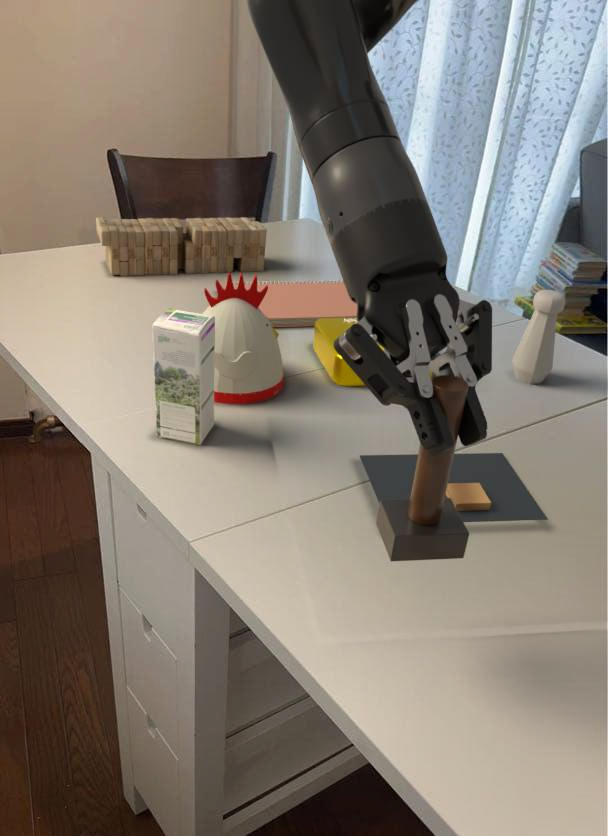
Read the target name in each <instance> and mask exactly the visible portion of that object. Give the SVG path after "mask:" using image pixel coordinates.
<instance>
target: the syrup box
mask: <svg viewBox="0 0 608 836" xmlns="http://www.w3.org/2000/svg"><path fill="white" fill-rule="evenodd" d="M151 327H152V328H151V334H152V335H151V336H152V356H153V377H154V378H153V380H154V381H153V382H154V406H155V407H154V408H155V431H156V433H155V434H156V438H158V439H162V440H168V441H173V442H174V441H175V442H179V443H185V444H190V445H195V446H201V445H202V444H203V442H204V440H205V438H206V437H207V436H208V434H209V433H210V431H212V428H213V427H214V426H215V402H214V363H215V317H214V316H211V315H205V314H203V313H199V312H192V311H187V310H180V309H173V308H168V309H167V310H166V311H164V312H163V313H162V314H161V315H159V317H158V318H157V319H156V320H155V321H154V323H153V324H152V325H151Z"/></svg>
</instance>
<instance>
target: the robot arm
mask: <svg viewBox="0 0 608 836" xmlns="http://www.w3.org/2000/svg"><path fill="white" fill-rule="evenodd" d="M419 1H420V0H246V6H247V11H248V14H249V17H250V20H251V23H252V25H253V28H254V29H255V32H256V34H257V36H258V39H259V42H260V45H261V47H262V49H263V51H264V54H265V55H266V58H267V61H268V63H269V65H270V68H271V70H272V73H273V75H274V77H275V80H276V82H277V84H278V87H279V89H280V92H281V93H282V96H283V98H284V101H285V103H286V105H287V108H288V112H289V116H290V119H291V123H292V127H293V130H294V135H295V139H296V142H297V146H298V148H299V151H300V155H301V157H302V160H303V163H304V166H305V168H306V172H307V174H308V177H309V179H310V183H311V185H312V188H313V191H314V195H315V200H316V205H317V209H318V214H319V216H320V219H321V222H322V226H323V229H324V231H325V234H326V237H327V240H328V241H329V242H328V243H329V244H330V247H331V250H332V253H333V256H334V258H335V262H336V264H337V267H338V270H339V272H340V275H341V278H342V281H344V284H345V287H346V289H347V292H348V295H349V297H350V299H351V300H352V301H353V302H354V303H356V304H357V321H358V322H357V323H356V324H353V325H352V326H351V327H350V328H348V329H347V330H346V331H345V332H344V333H343V334H342V335H340V336H339V337H338V338H337V339H336V340H335V341H334V348H335V350H336V351H337V353H338V354H339V355H340V356H341V357H342V358H343V360H344V361H345V362H346V363H347V364H348V365H349V367H350V368H351V369H352V370H353V371H354V372H355V374H356V375H357V376H358V377H359V378H360V379H361V381H362V382H363V383H364V384H365V385H366V386H365V387H366V388H367V389H368V390H369V392H370V393H371V394H372V395H373V396H374V397H375V398H376V399H377V401H378V402H379V403H380V404H381V405H383V406H385V407H387V406H390V405H392V404H393V405H399V406H402V407H403V408H405V409H407V411H408V413H409V416H410V418H411V421H412V424H413V427H414V430H415V431H416V435H417V438H418V440H419V445H420V444H421V445H422V446H423V448H424V449H425V450H426V449H427V450H428V453H429V454H430V455H431V456H435V455H438V454H442V453H444V452H446V451H448V450H450V449H452V448H453V446H454V441H453V438H452V435H451V433H450V430H449V427H448V424H447V422H446V419H445V416H444V413H443V411H442V408H441V405H440V402H439V400H438V397H437V398H433V399H432V395H433V393H434V389H433V385H432V380H431V377H430V373H429V371H430V372H433V374H435V375H436V376H440V375H450V376H455V377H459V378H461V379H463V380H465V381H466V382H467V383H468V386H469V387H468V392H467V396H466V401H465V406H464V410H463V415H462V420H461V424H460V429H459V434H458V438H459V440H460V443H461V445H462V446H464V447H468V446H472V445H475V444H476V443H479V442H481V441H483V440H485V439H486V438H487V436H488V431H487V430H488V421H487V418H486V415H485V413H484V410H483V407H482V404H481V401H480V399H479V396H478V393H477V391H476V385H477V383H478V382H480V381H481V380H482V378H484V377H486V376H487V375H489V374H490V373H491V372H492V371H493V365H492V364H493V306H492V304H491V303H490V302H489V301H488V300H486V299H482V300H480V301H479V302H477V303H476V304H474V303H471V302H468V301H465V300H463V299H460V296H459V293H458V292H457V290H456V289H455V287H453V285H452V284H451V283H450V281H449V279H448V277H447V265H448V253H447V251H446V249H445V246H444V243H443V240H442V237H441V234H440V232H439V228H438V226H437V224H436V221H435V218H434V216H433V213H432V211H431V207H430V205H429V202H428V199H427V197H426V194H425V191H424V189H423V186H422V183H421V180H420V178H419V175H418V172H417V170H416V168H415V166H414V164H413V161H412V160H411V159H410V157H409V155H408V153H407V151H406V149H405V147H404V145H403V142H402V139H401V136H400V133H399V131H398V129H397V125H396V122H395V120H394V118H393V115H392V112H391V110H390V105H389V104H388V101H387V99H386V97H385V95H384V93H383V90H382V88H381V87H380V84H379V82H378V80H377V77H376V75H375V73H374V70H373V67H372V65H371V62H370V58H369V53H370V52H371V51H372V50H373V49H374V48H375V47H376V46H377V44H379V43H380V42H381V41H382V40H383V39H384V38H385V37H386V36H387V35H388V33H390V32H391V31H392V30H393V29H394V28H395V27H396V26H397V24H399V22H400V21H401V20H402V18H404V16H405V15H406V14H407V13H408V12H409V10H410V9H412V8H413V7H414V5H415V4H417V3H418V2H419ZM376 342H377V343H378V344H379V345H380V346H382V347H383V348H384V351H383V350H382V349H381V348H380V346H379V345H378V344H377V343H376ZM444 349H446V350H445V352H443V353H440V352H442V351H443V350H444ZM436 376H435V377H436Z"/></svg>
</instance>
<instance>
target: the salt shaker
mask: <svg viewBox="0 0 608 836" xmlns="http://www.w3.org/2000/svg"><path fill="white" fill-rule="evenodd" d="M532 306H533V309H534V312H533V314H532V316H531V317H530V320H529V322H528V324H527V327H526V329H525V331H524V333H523V335H522V337H521V339H520V342H519V344H518V345H517V348H516V350H515V353H514V354H513V357H512V359H511V360H512V361H511V364H512V368H513V369H512V370H513V375H514V376H515V378H516V379H517V381H520V382H523V383H526V384H529V385H533V384H542V382H544V380H545V379H546V377H547V376H549V374H550V373H551V372H552V370H553V367H554V354H555V343H556V342H555V341H556V328H557V322H558V321H557V319H558V314H561V313H562V312H563V310H564V309H565V306H566V297H565V295H564V293H562V292H559V291H556V290H553V289H541V290H539V291H538V292H536V293H535V294H534V297H533V300H532Z"/></svg>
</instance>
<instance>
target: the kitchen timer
mask: <svg viewBox="0 0 608 836" xmlns="http://www.w3.org/2000/svg"><path fill="white" fill-rule="evenodd" d="M238 278H239V279H238V282H239V284H238V288H237V289H234V287H233V282H234V281H233V278H232V274H231V272H227V280H226V283H225V284H226V288H225V289H223V288H222V286H221V285H220V284H221V283H220V281H219V280H218V279H215V289H216V293H217V296H216V297H213V296H212V295H211V293H210V292H209V290H208V289H207V288H206V287H204V290H203V291H204V295H205V298H206V301H207V302H208V305H209V306H208V307H207V308H206V309H205V310H204V311H203V312H202V314H205V315H211V316H214V317H215V363H214V403H219V404H227V405H249V404H253V403H259V402H263V401H266V400H268V399H271V398H273V397H274V396H277V394H279V393H280V392H281V390H282V388H283V386H284V377H285V376H284V375H285V374H284V364H283V357H282V353H281V349H280V348H281V347H280V344H279V340H278V337H279V335H280V334H279V332H278V331H277V330H276V329H275V327H272V325H271V324H270V322H269V320H268V318H267V317H266V316H265V315H264V314H263V312H262V311H261V310H260V309H259V308H258V307H259V305H260V304H261V302H262V300H263V299H264V297H265V295H266V293H267V290H268V285H266V286H265V288H264V289H263V290H262V291H261V292H258V291H257V281H258V275H257V274H255V275H254V277H253V279H252V281H251V282H252V284H251V287H250V289H249V290H246V289H245V286H244V284H245V280H244V276H243V272H240V275H239V277H238Z"/></svg>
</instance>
